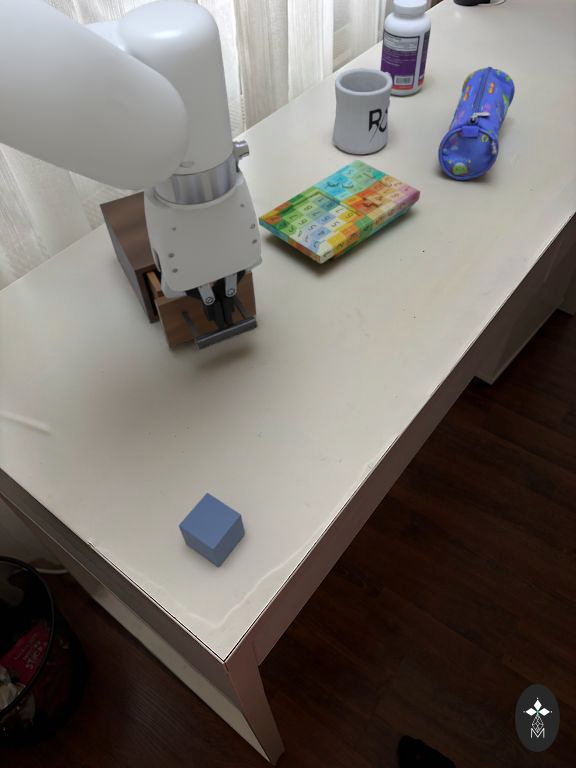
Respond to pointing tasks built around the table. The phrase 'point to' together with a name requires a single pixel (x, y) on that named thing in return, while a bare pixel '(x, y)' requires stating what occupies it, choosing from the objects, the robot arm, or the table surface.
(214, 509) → the block
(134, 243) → the cabinet
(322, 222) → the puzzle game
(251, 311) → the drawer
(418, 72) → the pill bottle
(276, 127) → the table surface
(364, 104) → the mug
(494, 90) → the pencil case
